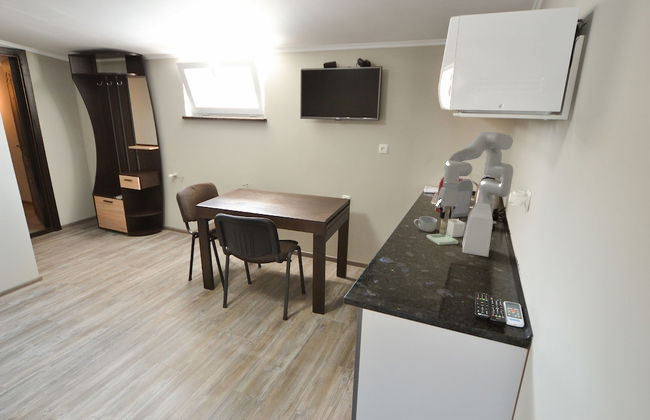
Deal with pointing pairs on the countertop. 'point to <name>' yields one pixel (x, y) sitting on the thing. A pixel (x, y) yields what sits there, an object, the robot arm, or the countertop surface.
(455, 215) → the red and white block
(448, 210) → the dowel
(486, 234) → the milk
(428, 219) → the teacup
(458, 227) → the open box
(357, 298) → the countertop surface
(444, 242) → the tray
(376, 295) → the countertop surface
